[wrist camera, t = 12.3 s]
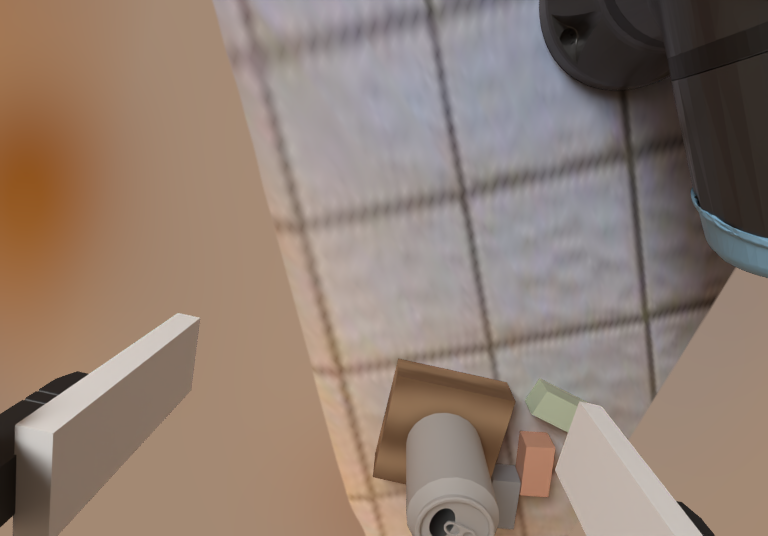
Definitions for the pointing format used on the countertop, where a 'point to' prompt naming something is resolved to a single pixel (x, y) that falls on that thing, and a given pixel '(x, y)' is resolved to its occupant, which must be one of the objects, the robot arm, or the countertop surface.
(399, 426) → the walnut block
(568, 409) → the brick sage
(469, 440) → the can
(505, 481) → the brick slate
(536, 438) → the brick terracotta
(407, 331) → the countertop surface
